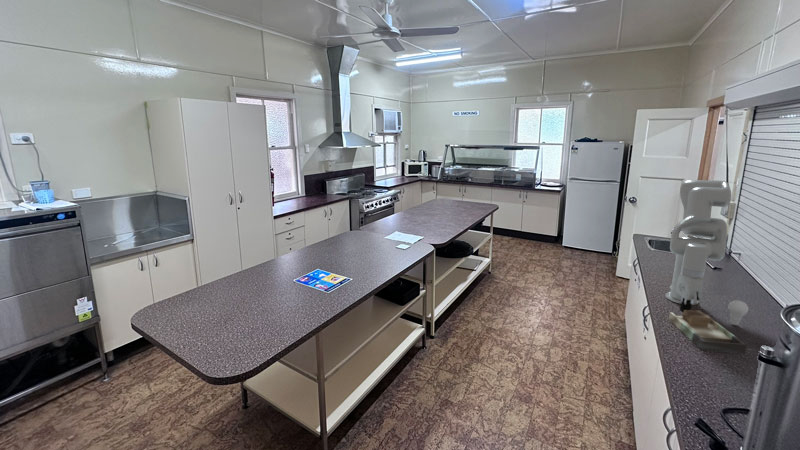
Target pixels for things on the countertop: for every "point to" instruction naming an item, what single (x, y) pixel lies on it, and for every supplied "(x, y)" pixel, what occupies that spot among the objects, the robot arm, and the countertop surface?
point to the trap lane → (709, 336)
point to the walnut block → (695, 318)
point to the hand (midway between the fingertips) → (685, 311)
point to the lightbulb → (737, 311)
